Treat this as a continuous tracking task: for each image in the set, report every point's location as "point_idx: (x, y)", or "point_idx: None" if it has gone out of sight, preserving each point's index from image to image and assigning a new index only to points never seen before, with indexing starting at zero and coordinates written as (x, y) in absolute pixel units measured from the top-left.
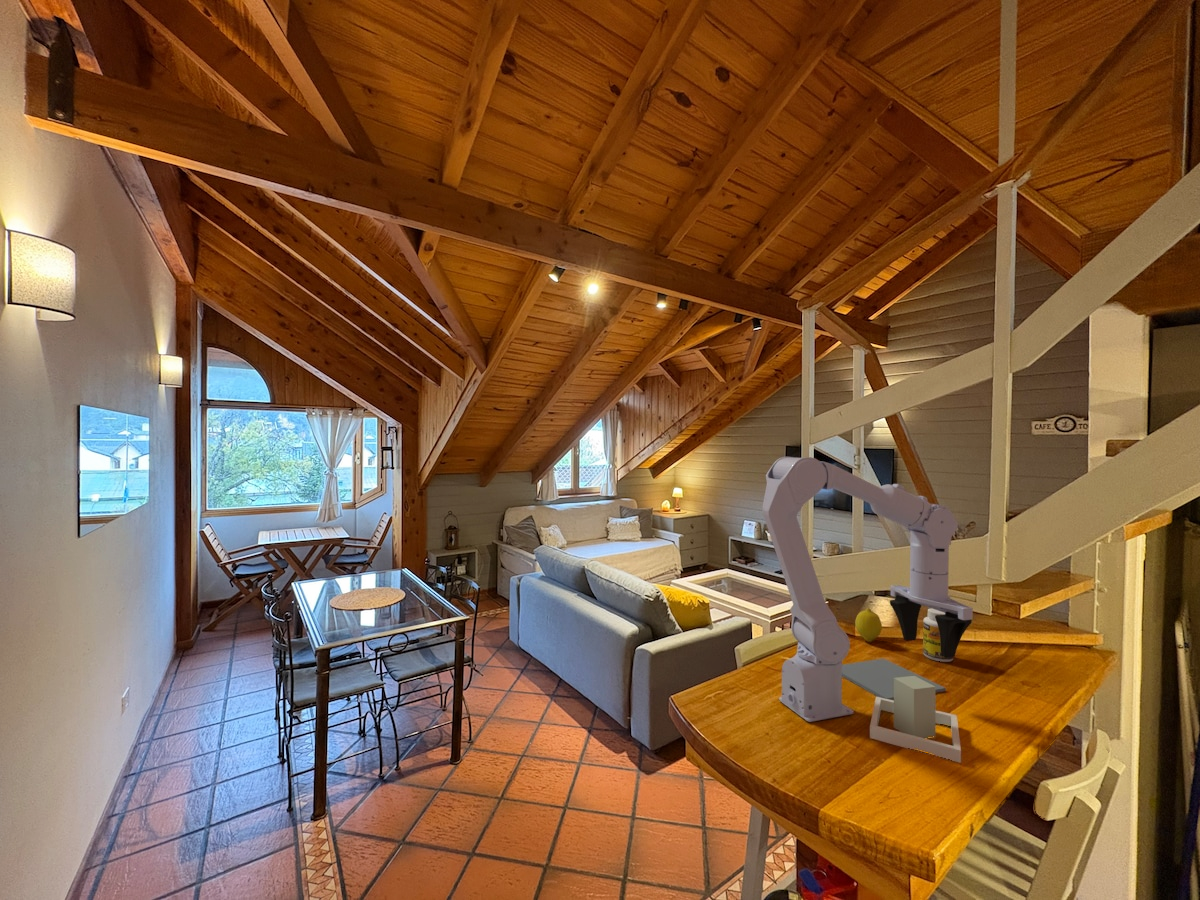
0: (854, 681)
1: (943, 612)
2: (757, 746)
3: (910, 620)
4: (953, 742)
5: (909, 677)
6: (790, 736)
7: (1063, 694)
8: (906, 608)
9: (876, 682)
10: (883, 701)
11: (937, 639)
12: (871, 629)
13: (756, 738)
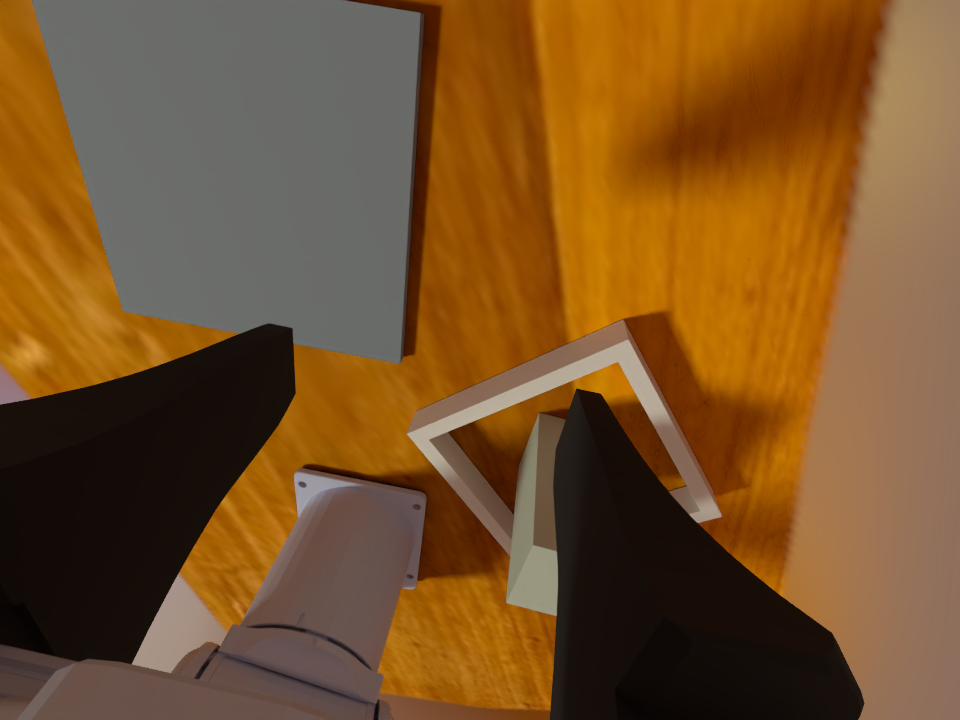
0: None
1: None
2: (444, 672)
3: (198, 458)
4: (692, 495)
5: (532, 568)
6: (441, 628)
7: None
8: (123, 601)
9: (285, 281)
10: (436, 434)
11: None
12: None
13: (422, 661)
